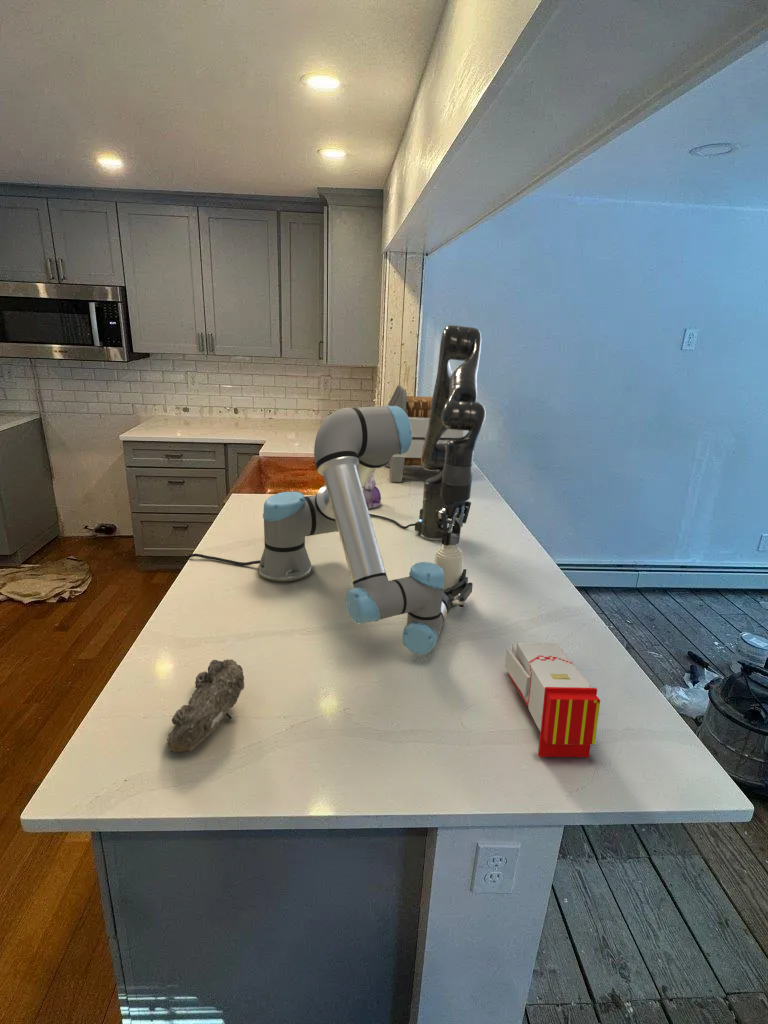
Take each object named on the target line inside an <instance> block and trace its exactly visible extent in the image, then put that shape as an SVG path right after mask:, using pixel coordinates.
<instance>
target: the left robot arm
mask: <svg viewBox="0 0 768 1024" xmlns="http://www.w3.org/2000/svg"><path fill="white" fill-rule="evenodd" d="M411 441H412V431H411V425H410V421H409V418H408V416H407V414H406V412H405V411H404V410H403V409H402V408H400V407H398V406H388V404H386V405H379V406H378V405H377V406H361V407H343V408H339V409H336V410H335V411H333V412H331V413H330V414H329V415H327V417H325V419H324V420H323V421H322V423H321V425H320V426H319V428H318V430H317V433H316V436H315V440H314V448H313V449H314V450H313V457H314V463H315V467H316V471H317V473H318V474H319V475H321V476H322V477H323V479H324V482H325V484H324V485H323V486H321V487H320V488H319V489H318V491H317V493H316V494H314V495H306V496H305V495H304V494H303V493H302V492H299V491H294V490H293V491H290V490H289V491H282V492H277V493H275V494H273V495H271V496H269V497H268V498H266V500H264V503H263V513H262V519H263V539H264V541H263V542H264V548H263V551H262V554H261V557H260V559H259V560H252V561H246V562H245V561H243V562H242V561H236V560H233V559H226V558H222V557H217V556H211V555H207V554H206V555H205V554H202V553H191V554H188V555H187V556H186V557H185V558H184V560H189V559H191V558H195V557H198V558H203V559H205V560H206V559H207V560H212V561H213V560H214V561H219V562H223V563H228V564H231V565H238V566H251V565H257V564H258V573H259V575H260V577H262V578H263V579H265V580H267V581H271V582H276V583H291V582H296V581H300V580H303V579H305V578H307V577H308V576H309V575H310V574H311V572H312V562H311V560H310V557H309V554H308V551H307V548H306V537H310V536H316V535H322V534H330V533H338V534H339V538H340V541H341V546H342V550H343V552H344V556H345V560H346V563H347V564H346V565H347V568H348V571H349V575H350V579H351V582H352V586H353V588H351V589H348V591H347V593H346V595H345V596H346V597H345V602H346V604H345V607H346V612H347V614H348V616H349V617H350V619H351V620H352V622H354V623H356V624H360V625H361V624H366V623H372V622H378V621H380V620H385V619H388V618H391V617H396V616H398V615H399V616H400V615H403V614H404V615H405V614H407V616H406V617H407V618H406V625H405V626H404V627H403V632H402V635H401V637H402V638H401V640H402V643H403V646H404V647H405V649H407V651H409V652H410V653H412V654H415V655H426V654H428V653H430V652H431V651H432V650H433V649H434V648H435V646H436V644H437V643H438V639H439V636H440V633H441V631H442V628H443V625H444V623H445V621H446V620H447V616H448V614H449V612H450V609H451V607H453V606H454V605H453V604H456V605H458V606H459V608H464V607H465V603H466V601H467V599H468V598H469V597H470V596H471V594H472V593H473V585H474V584H473V582H469V577H468V576H467V569H466V568H465V569H464V568H463V570H462V571H461V577H460V581H459V583H457V584H456V585H454V586H452V587H451V588H449V587H448V588H447V589H445V590H443V589H444V572H443V569H442V568H441V567H439V566H438V565H436V564H434V562H428V561H420V562H416V563H415V564H412V566H411V567H410V569H409V573H408V574H409V575H408V576H405V577H399V578H396V579H391V580H389V578H388V575H387V573H386V568H385V565H384V561H383V558H382V554H381V550H380V548H379V544H378V540H377V537H376V533H375V529H374V526H373V522H372V519H371V516H370V515H369V514H370V512H369V509H368V508H367V504H366V501H365V497H364V494H363V487H364V486H365V484H366V483H367V481H368V480H369V478H370V477H371V475H372V474H373V473H374V474H375V472H376V470H377V469H381V468H383V467H386V466H385V465H386V464H387V463H388V461H389V460H390V459H391V457H392V456H393V455H395V454H399V455H401V454H403V453H406V452H407V451H408V450H409V448H410V446H411ZM374 471H375V472H374ZM458 594H459V595H458ZM457 595H458V597H457V598H456V599H454V597H455V596H457ZM452 605H453V606H452Z"/></svg>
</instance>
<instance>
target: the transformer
mask: <svg viewBox="0 0 768 1024" xmlns="http://www.w3.org/2000/svg"><path fill="white" fill-rule="evenodd" d="M407 394H408V393H407V390H406V389H404V388H403V387H402V385H399V384H398V385H397V386H396V388H395V390H394V392H393V394H392V395H391V398H390V400H389V402H388V404H387V405H388V406H398V407H400V408H402V409H403V410H404V411H405V412H406V414H407V416H408V418H409V421H410V425H411V431H412V441H411V446H410V448H409V450H408V451H407V452H406V453H403V454H401V455H399V454H395V455H393V456H392V457H391V459H390V460H389V461H388V463H387V464H386V465H385V466H384V467H388V468H389V475H388V476H389V477H388V478H389V480H390V482H391V483H402V482H403V475H404V469H405V466H406V467H407V466H411V467H412V466H413V467H415V466H416V467H417V466H418V467H422V464H421V455H422V449H423V445H424V441H425V438H426V434H427V429H428V424H429V417H430V409H431V403H432V397H433V396H415V395H414V396H413V395H412V396H411V395H407ZM464 431H465V430H451V429H448V430H447V431H446V432H445V433H444V434H443V435H442V436H441V437H440V438H439V440H438V442H437V443H447V442H448V441H449V440H451V439H455V438H461V437H464ZM439 473H441V471H439Z"/></svg>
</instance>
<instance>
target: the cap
mask: <svg viewBox="0 0 768 1024" xmlns="http://www.w3.org/2000/svg"><path fill="white" fill-rule="evenodd" d="M459 535H460V536H459ZM459 538H460V539H461V533H460V534H459V533H458V532H455V531H452V530H451V538H450V545H457V546H458V544H459V543H460V539H459Z"/></svg>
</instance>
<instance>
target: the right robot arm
mask: <svg viewBox="0 0 768 1024" xmlns="http://www.w3.org/2000/svg"><path fill="white" fill-rule="evenodd" d="M481 350H482V333H481V331H480V330H479V329H478V328H476V327H472V326H466V325H465V326H464V325H454V324H450V325H445V327H444V329H443V331H442V333H441V338H440V346H439V354H438V363H437V364H438V365H437V371H436V378H435V383H434V389H433V394H432V396H431V397H432V403H431V409H430V417H429V424H428V429H427V434H426V438H425V441H424V445H423V449H422V455H421V464H422V466H421V467H422V468H423V470H425V471H432V472H436V471H437V472H439V473H438V474H436V475H435V476H432V477H429V478H427V479H425V480H424V482H423V493H422V496H423V497H422V506H421V508H420V509H419V516H418V521H416V522H414V523H409V524H408V525H407V524H406V525H404V526H403V525H402V524H400V523H399V522H398V521H396V520H395V519H392V518H390V517H386V516H382V515H378V514H372V513H369V515H370V517H374V518H379V519H383V520H386V521H389V522H392V523H394V524H395V525H396V526H398V527H399V528H401V529H405V530H406V529H408V528H410V527H414V531H415V532H417V535H418V536H420V538H421V539H424V540H426V541H432V542H440V543H441V545H446V546H448V545H450V538H451V531H455V532H458V533H459V534H460V535H459V536H460V538H459V540H460V539H461V531H462V530H461V529H462V527H463V526H464V524H466V523H467V520H468V516H469V513H470V509H471V505H472V502H471V501H469V500H470V498H471V491H472V482H473V474H474V473H473V464H474V463H473V462H474V454H475V448H476V443H477V441H478V437H479V435H480V433H481V430H482V429H483V427H484V423H485V421H486V415H487V412H486V408H485V406H484V405H483V404H482V403H481V402H478V401H477V399H478V373H479V372H478V371H479V365H480V357H481ZM451 360H453V361H461V362H462V363H461V364H460V365H459V366H458V367H457V368H456V369H455V370H454V371H452V368H451V367H452V366H451V363H450V361H451ZM448 429H451V430H464V431H466V432H467V431H468V432H467V433H466V434H465V435H463V437H461V438H455V439H451V440H449V441H448V442H447V443H437V442H438V440H439V438H440V437H441V436H442V435H443V434H444V433H445V432H446V431H447V430H448ZM440 471H441V472H440Z"/></svg>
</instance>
